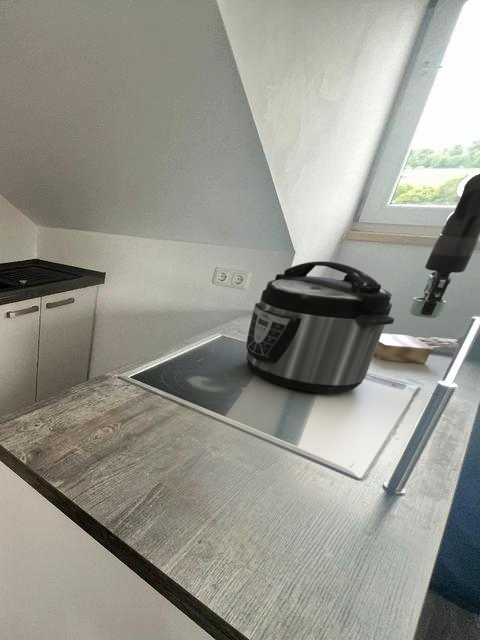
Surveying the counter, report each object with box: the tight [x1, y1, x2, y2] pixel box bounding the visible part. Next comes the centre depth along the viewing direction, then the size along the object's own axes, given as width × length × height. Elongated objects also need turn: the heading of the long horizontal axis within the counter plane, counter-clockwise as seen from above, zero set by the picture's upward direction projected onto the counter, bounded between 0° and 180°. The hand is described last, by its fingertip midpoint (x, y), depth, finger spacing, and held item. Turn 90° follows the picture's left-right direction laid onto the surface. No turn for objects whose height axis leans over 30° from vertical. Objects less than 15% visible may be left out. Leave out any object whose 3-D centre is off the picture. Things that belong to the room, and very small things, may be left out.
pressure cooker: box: [245, 260, 395, 394], centre depth 105 cm, size 30×28×32 cm
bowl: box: [408, 296, 448, 319], centre depth 111 cm, size 6×6×4 cm
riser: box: [373, 332, 436, 364], centre depth 122 cm, size 12×12×5 cm
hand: (424, 311), depth 111 cm, fingers closed on bowl, 6 cm apart
